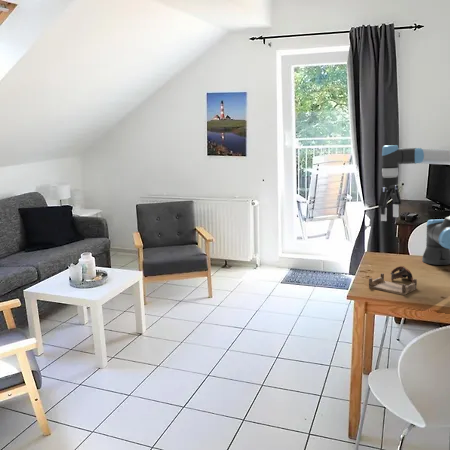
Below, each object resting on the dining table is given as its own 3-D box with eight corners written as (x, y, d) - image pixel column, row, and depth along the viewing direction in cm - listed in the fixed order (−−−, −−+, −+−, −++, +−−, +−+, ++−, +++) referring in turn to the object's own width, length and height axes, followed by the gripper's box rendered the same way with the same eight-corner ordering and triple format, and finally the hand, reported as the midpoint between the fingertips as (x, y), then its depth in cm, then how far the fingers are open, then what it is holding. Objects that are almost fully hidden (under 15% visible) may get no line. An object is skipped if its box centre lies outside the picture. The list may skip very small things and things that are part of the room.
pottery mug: (415, 285, 227) (406, 270, 225) (395, 292, 231) (387, 277, 230) (415, 273, 237) (407, 259, 236) (397, 280, 242) (389, 266, 240)
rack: (381, 282, 233) (381, 273, 232) (416, 288, 221) (416, 279, 220) (368, 288, 225) (369, 278, 224) (404, 295, 213) (404, 285, 212)
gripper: (393, 174, 253) (393, 215, 256) (371, 178, 235) (371, 222, 239) (408, 174, 248) (407, 216, 251) (385, 178, 230) (385, 223, 234)
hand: (389, 219), depth 245 cm, fingers open, 13 cm apart
